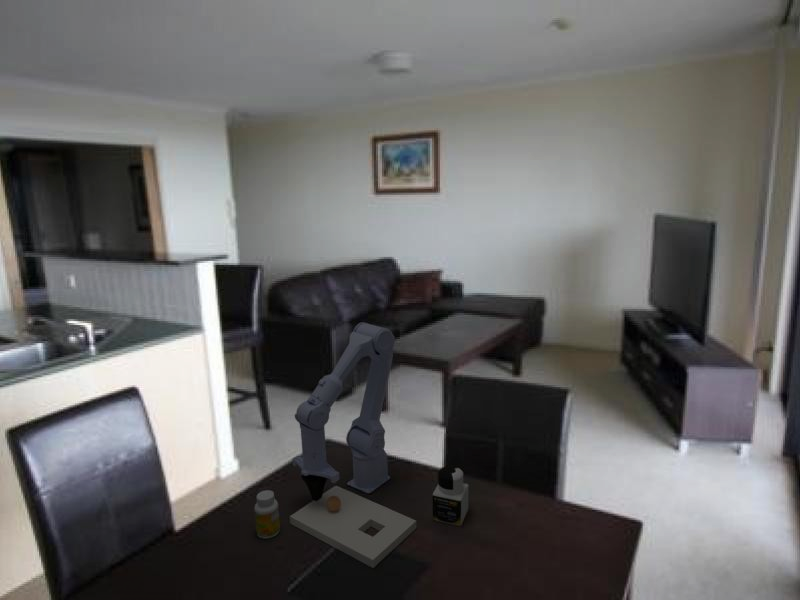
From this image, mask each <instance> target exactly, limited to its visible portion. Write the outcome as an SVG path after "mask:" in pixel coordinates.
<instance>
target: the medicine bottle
mask: <svg viewBox="0 0 800 600" xmlns="http://www.w3.org/2000/svg"><path fill="white" fill-rule="evenodd" d="M468 512H469V484H468V483H464V471H462V470H461V468H459V467H457V466H452V465H449V466H448V465H447V466H444V467H441V468H440V469H439V470H438V472H437V486H436V487H435V490H434V491H433V493H432V520H433V521H436V522H440V523H445V524H449V525H454V526H459V527H462V524H463V522H464V520H465V518H466V516H467V513H468Z"/></svg>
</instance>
